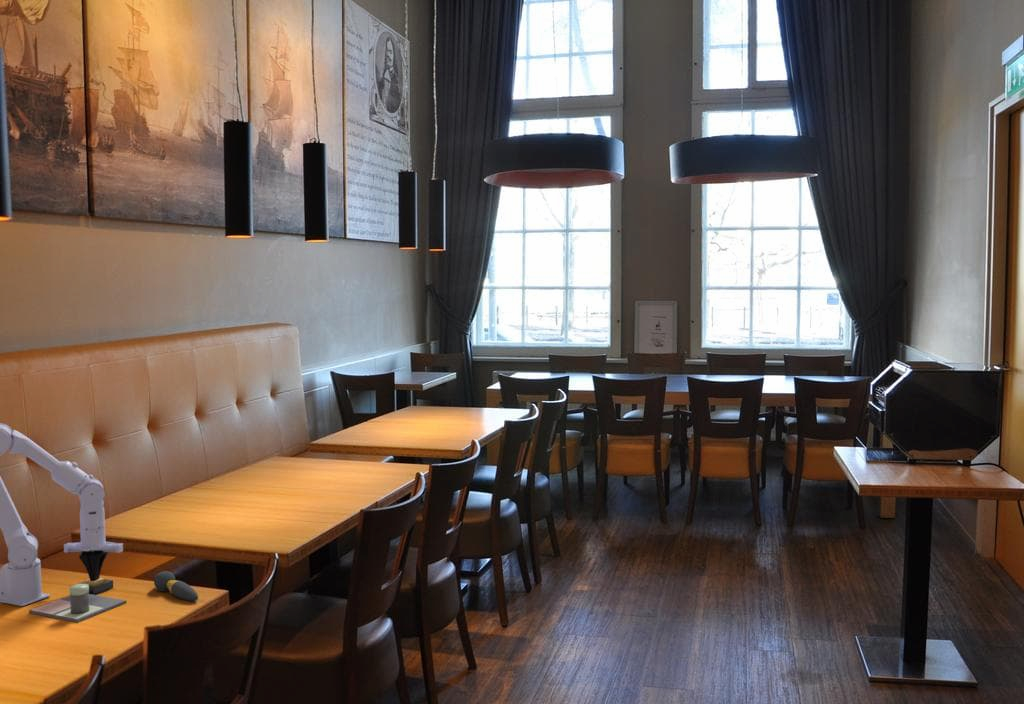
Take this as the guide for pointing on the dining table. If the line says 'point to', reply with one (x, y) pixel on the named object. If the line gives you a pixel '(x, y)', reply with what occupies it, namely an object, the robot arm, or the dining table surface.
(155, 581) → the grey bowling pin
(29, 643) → the dining table surface
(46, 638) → the dining table surface
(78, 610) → the green lidded grey jar
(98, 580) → the button
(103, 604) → the picture board
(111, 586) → the button housing
